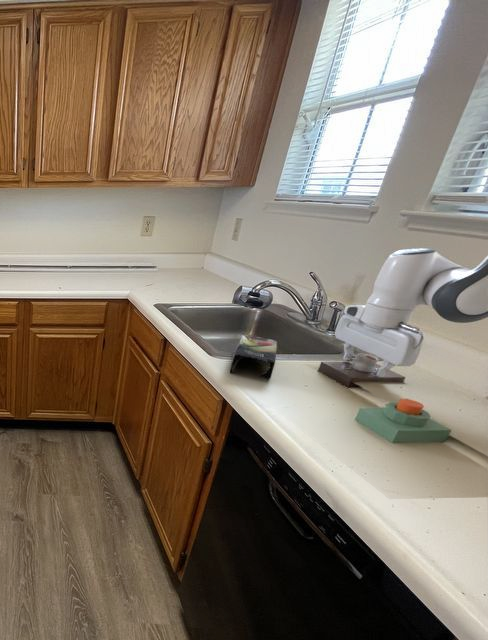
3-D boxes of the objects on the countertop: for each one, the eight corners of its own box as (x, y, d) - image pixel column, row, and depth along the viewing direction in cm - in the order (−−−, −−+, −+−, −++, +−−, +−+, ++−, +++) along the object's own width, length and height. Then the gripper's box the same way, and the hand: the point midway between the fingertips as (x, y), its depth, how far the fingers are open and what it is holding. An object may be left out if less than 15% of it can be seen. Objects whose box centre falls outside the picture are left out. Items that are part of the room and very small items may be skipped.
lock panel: (366, 370, 114) (371, 360, 113) (400, 387, 105) (406, 376, 104) (317, 371, 114) (321, 360, 112) (347, 388, 105) (352, 377, 103)
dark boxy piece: (235, 349, 127) (240, 330, 124) (272, 357, 122) (279, 337, 119) (227, 373, 112) (233, 353, 109) (269, 383, 107) (277, 362, 104)
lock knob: (347, 365, 110) (352, 351, 108) (363, 365, 110) (369, 352, 108) (360, 372, 106) (366, 358, 104) (377, 372, 106) (383, 358, 104)
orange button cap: (407, 407, 87) (411, 398, 86) (424, 416, 84) (429, 407, 83) (390, 407, 87) (395, 398, 86) (407, 416, 84) (411, 407, 83)
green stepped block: (402, 418, 92) (412, 399, 90) (444, 442, 84) (456, 421, 81) (354, 419, 91) (363, 399, 89) (391, 443, 83) (402, 422, 81)
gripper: (440, 331, 93) (412, 385, 99) (363, 304, 111) (343, 352, 117) (412, 331, 92) (386, 386, 99) (340, 304, 111) (321, 352, 117)
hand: (362, 367), depth 108 cm, fingers open, 8 cm apart
